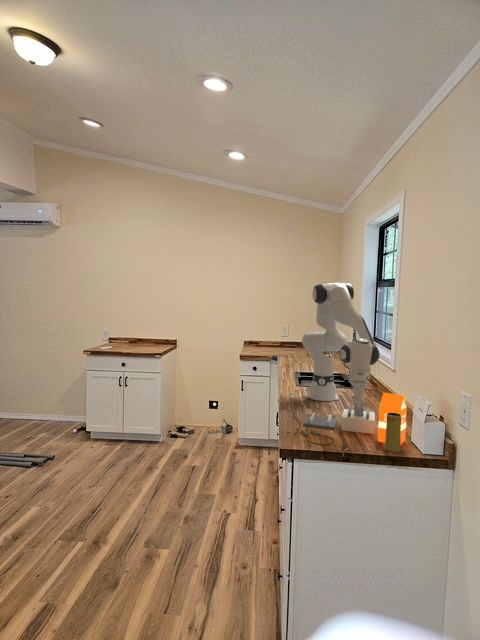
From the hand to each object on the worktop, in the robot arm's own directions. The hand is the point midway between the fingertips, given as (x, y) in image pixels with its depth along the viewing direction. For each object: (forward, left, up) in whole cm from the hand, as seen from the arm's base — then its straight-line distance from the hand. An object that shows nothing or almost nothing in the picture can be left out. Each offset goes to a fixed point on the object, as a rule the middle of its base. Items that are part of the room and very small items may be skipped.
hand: (359, 404), depth 191 cm
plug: (0, 0, -5) cm, 5 cm away
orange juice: (+14, +14, -11) cm, 23 cm away
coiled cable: (+22, -15, -12) cm, 29 cm away
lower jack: (0, -17, -11) cm, 20 cm away
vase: (+24, +14, -11) cm, 30 cm away
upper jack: (0, 0, -11) cm, 11 cm away
